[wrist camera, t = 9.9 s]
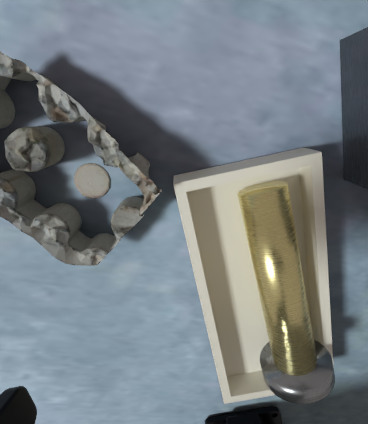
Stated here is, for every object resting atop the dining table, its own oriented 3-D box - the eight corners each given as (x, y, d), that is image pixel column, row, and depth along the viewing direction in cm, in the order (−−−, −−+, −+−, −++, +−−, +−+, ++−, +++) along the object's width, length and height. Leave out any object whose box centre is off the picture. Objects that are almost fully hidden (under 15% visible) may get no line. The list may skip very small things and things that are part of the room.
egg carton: (173, 178, 18) (172, 195, 14) (100, 255, 20) (82, 289, 16) (31, 48, 16) (-17, 26, 12) (-39, 149, 17) (-102, 158, 13)
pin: (292, 338, 22) (350, 372, 18) (249, 372, 20) (303, 419, 16) (261, 177, 19) (323, 176, 15) (206, 198, 17) (262, 204, 13)
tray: (319, 358, 23) (334, 384, 21) (220, 376, 23) (224, 403, 21) (303, 147, 17) (321, 152, 15) (173, 175, 18) (173, 183, 16)
